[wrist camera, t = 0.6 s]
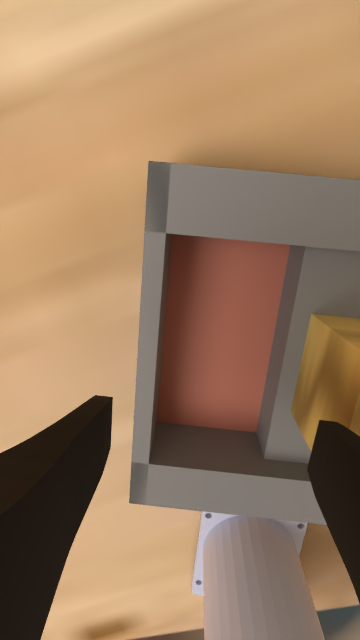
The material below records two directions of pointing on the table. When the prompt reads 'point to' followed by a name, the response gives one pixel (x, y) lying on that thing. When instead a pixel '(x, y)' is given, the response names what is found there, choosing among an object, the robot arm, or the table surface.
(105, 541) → the table surface
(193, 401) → the trap track
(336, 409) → the block
